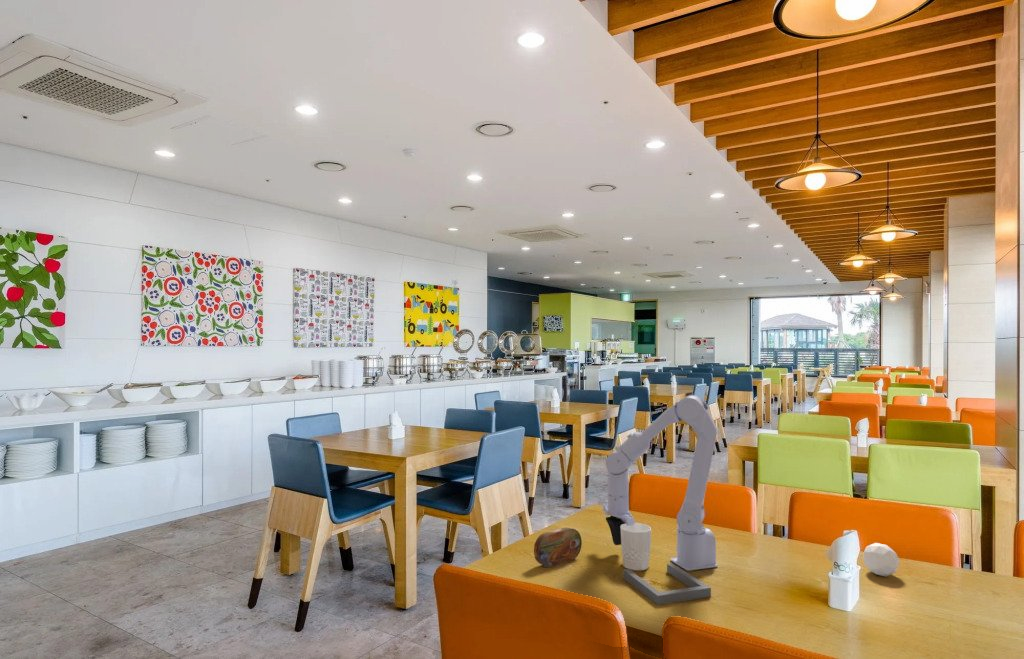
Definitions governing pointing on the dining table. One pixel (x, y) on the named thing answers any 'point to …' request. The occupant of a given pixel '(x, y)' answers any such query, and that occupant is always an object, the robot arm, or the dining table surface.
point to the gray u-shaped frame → (693, 592)
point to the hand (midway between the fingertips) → (618, 544)
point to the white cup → (635, 546)
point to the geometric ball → (880, 559)
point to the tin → (557, 547)
